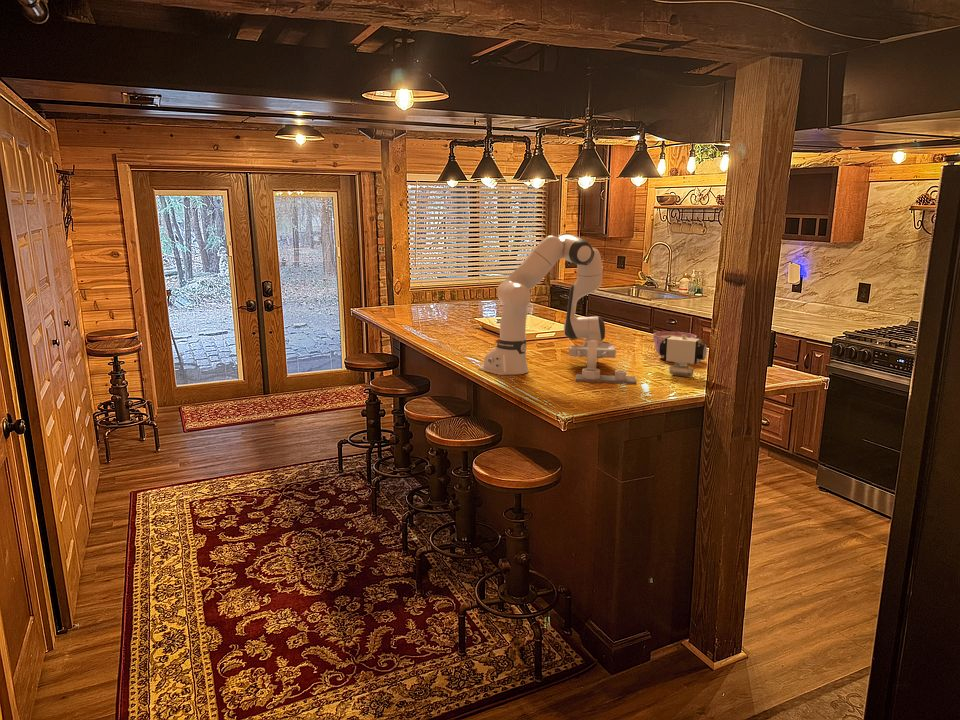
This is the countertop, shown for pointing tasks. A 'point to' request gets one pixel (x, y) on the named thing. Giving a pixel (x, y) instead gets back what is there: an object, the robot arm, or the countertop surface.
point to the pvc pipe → (592, 354)
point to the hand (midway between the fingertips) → (591, 355)
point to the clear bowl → (662, 335)
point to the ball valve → (682, 353)
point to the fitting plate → (604, 376)
